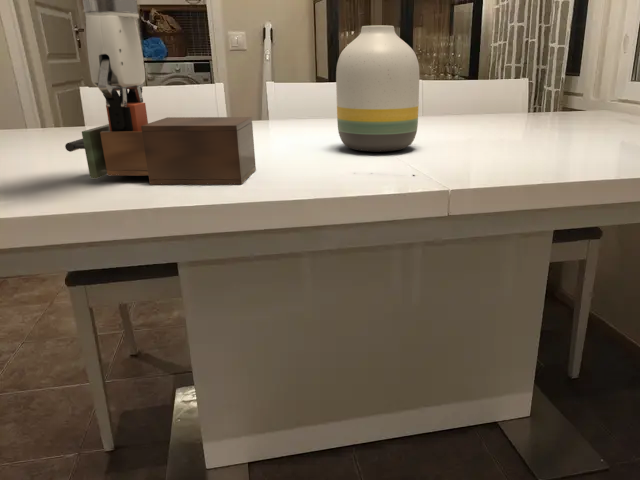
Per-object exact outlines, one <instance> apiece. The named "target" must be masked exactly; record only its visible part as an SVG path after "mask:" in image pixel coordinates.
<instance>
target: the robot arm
mask: <svg viewBox="0 0 640 480" xmlns="http://www.w3.org/2000/svg"><path fill="white" fill-rule="evenodd" d="M82 5H83V11H84V17H85V37H86V49H87V57H88V66H89V73H90V79H91V83H92V84H93V85H94V86H95V87H98V90H99V91H100V92H101V93H102V95H103V97H104V98H105V107H106V106H107V107H108V110H109V117H110V123H111V129H112V131H133V125H132V119H131V112H130V107H127V103H144V98H143V87H144V85H145V81H146V70H145V62H144V61H145V60H144V55H143V50H142V43H141V39H140V33H139V29H138V25H137V21H136V20H138V19H140V15H139V8H138V0H82Z"/></svg>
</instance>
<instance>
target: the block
mask: <svg viewBox="0 0 640 480" xmlns="http://www.w3.org/2000/svg"><path fill="white" fill-rule="evenodd" d="M127 107H130V112H131V119H132V125H133V131H142V129H141V126H142V125H145V124H148V123H149V120H148V112H147V105H146V102H143V103H127ZM105 110H106V115H107V120H108V124H109V128H110V131H112V129H111V123H110V117H109V110H108V107H107V106H106V105H105Z"/></svg>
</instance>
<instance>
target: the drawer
mask: <svg viewBox="0 0 640 480" xmlns="http://www.w3.org/2000/svg"><path fill="white" fill-rule="evenodd" d="M81 137H82V138H79V139H76V140H73V141H69V142H67V143H65V145H64V148H65V150H66V152H69V153H71V152H75V151H77V150H84V151H85V153H84V154H85V157H86V163H87V168H88V173H89V179H99V178H102V177H103V176H106V175H107V176H108V177H109V176H111V177H112V176H113V177H114V176H115V177H117V176H118V177H119V176H121V177H122V176H133V177H134V176H135V177H136V176H138V177H139V176H141V177H142V176H145V177H146V176H148V169H147V162H146V156H145V149H144V142H143V136H142V131H110V128H109V123H107V124H104V125H101V126H96V127H93V128H90V129H85V130H83V131H81Z"/></svg>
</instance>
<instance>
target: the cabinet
mask: <svg viewBox="0 0 640 480" xmlns="http://www.w3.org/2000/svg"><path fill="white" fill-rule="evenodd" d="M253 127H254V126H253V117H252V116H203V117H202V116H197V117H196V116H194V117H193V116H190V117H189V116H186V117H185V116H183V117H182V116H181V117H180V116H179V117H177V116H176V117H175V116H172V117H170V116H169V117H168V116H167V117H164V118H161V119H158V120H154V121H152V122H148V124H145V125H142V126H141V129H142V136H143V142H144V149H145V156H146V162H147V169H148V175H147V176H148V182H149V185H151V186H155V185H156V186H159V185H160V186H162V185H163V186H164V185H165V186H166V185H168V186H169V185H170V186H172V185H173V186H176V185H177V186H179V185H180V186H181V185H186V186H188V185H189V186H190V185H191V186H193V185H194V186H195V185H196V186H197V185H202V186H203V185H206V186H207V185H208V186H210V185H211V186H212V185H215V186H216V185H222V186H224V185H225V186H226V185H227V186H229V185H235V186H236V185H237V186H238V185H240V186H241V185H243V184H244V183H245V182H246V181H247V179H248V178H250V177H251V176H252V175H253V173H255V172H256V170H257V167H256V154H255V143H254V142H255V141H254V128H253Z"/></svg>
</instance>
